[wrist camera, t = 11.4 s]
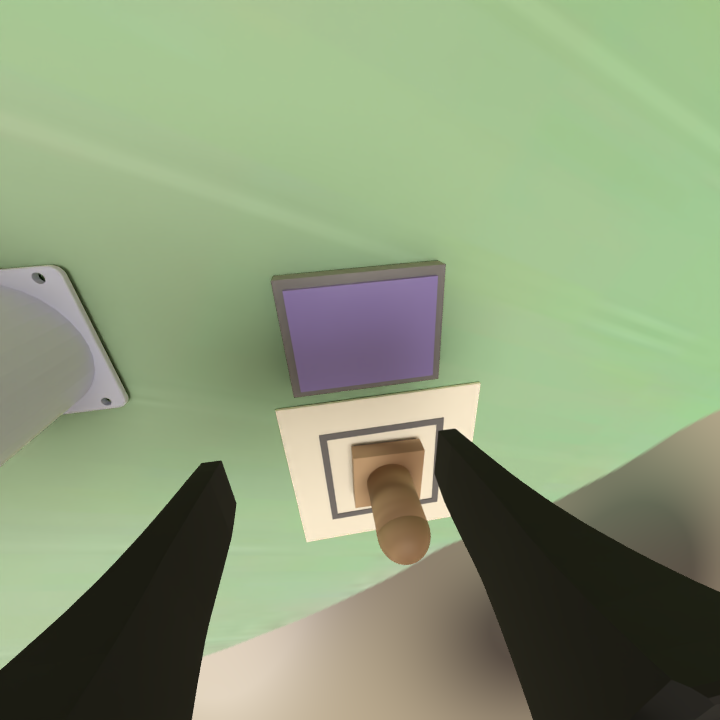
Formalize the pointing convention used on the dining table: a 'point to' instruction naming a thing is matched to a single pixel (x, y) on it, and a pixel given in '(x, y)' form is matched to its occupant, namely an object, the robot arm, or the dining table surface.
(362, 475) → the stamp
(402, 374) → the ink pad
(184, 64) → the dining table surface
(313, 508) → the paper sheet
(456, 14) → the dining table surface
